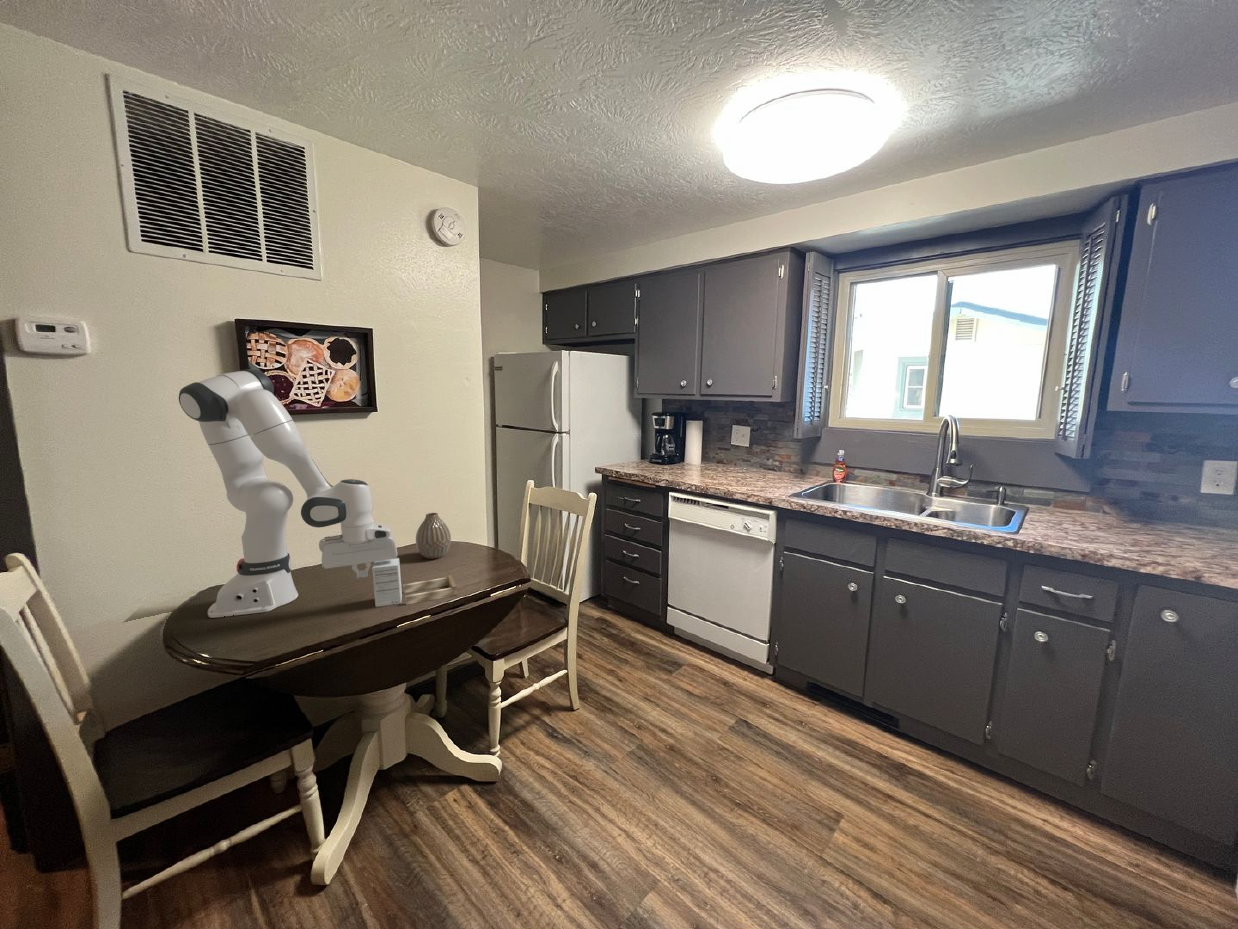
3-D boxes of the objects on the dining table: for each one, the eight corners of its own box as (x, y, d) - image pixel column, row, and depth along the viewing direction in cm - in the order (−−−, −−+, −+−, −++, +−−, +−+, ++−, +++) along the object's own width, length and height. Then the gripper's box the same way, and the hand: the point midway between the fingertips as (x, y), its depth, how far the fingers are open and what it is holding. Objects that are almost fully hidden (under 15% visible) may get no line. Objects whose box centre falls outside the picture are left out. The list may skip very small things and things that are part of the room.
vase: (456, 551, 202) (453, 509, 200) (445, 561, 189) (442, 517, 187) (424, 551, 202) (421, 510, 199) (411, 562, 189) (408, 518, 186)
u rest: (406, 604, 150) (405, 595, 150) (403, 591, 160) (402, 583, 160) (457, 595, 157) (456, 586, 156) (451, 583, 167) (451, 575, 166)
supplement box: (377, 598, 155) (374, 560, 153) (402, 594, 158) (399, 557, 156) (374, 607, 148) (371, 567, 147) (401, 603, 151) (398, 564, 149)
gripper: (317, 540, 139) (321, 586, 141) (395, 530, 148) (399, 574, 150) (319, 535, 145) (323, 579, 147) (394, 526, 154) (398, 568, 156)
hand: (362, 577), depth 149 cm, fingers closed
